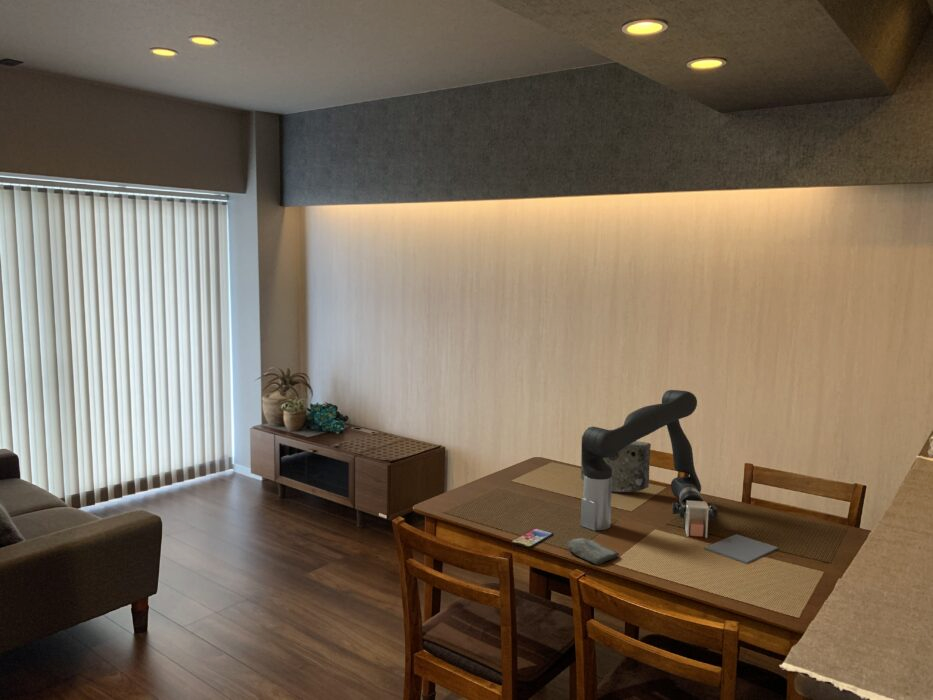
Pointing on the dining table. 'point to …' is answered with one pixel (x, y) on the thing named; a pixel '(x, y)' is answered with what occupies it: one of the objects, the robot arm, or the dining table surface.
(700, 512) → the white open box
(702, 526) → the cube
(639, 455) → the concrete block
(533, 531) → the smartphone
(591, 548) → the stone
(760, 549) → the mat
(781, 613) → the dining table surface
